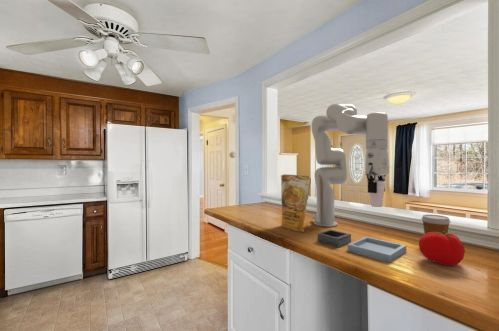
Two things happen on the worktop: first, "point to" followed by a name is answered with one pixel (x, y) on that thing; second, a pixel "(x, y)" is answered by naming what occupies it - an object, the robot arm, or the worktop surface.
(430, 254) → the tomato
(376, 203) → the smoothie
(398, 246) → the tray
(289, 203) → the pancake mix bag
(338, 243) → the dark grey open box
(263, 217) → the worktop surface
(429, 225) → the disposable coffee cup
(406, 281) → the worktop surface
